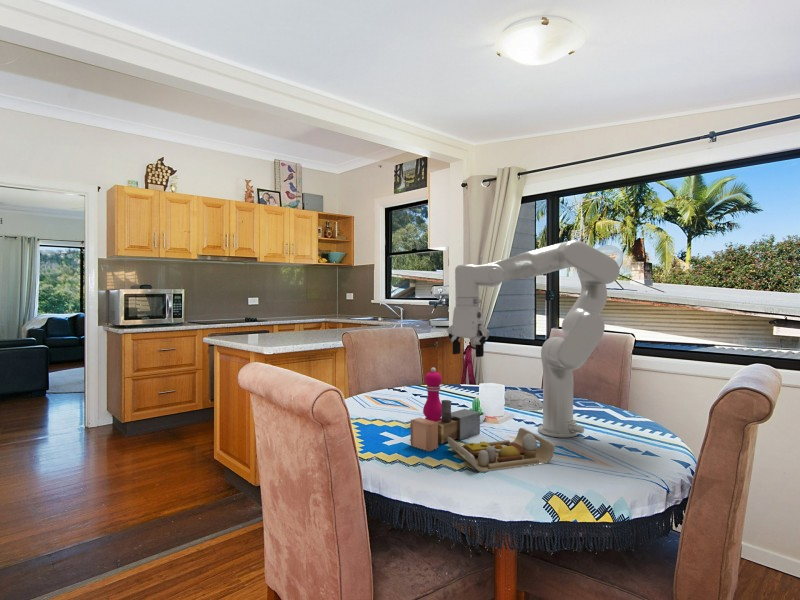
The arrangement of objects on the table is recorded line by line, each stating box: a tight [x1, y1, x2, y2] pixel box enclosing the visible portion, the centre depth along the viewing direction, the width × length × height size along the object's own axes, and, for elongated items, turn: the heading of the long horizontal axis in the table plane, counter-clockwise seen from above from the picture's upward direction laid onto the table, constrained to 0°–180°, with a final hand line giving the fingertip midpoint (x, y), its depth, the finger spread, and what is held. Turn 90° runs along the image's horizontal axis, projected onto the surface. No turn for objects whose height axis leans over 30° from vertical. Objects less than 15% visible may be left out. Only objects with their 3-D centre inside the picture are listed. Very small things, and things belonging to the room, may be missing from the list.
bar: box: [437, 399, 458, 444], centre depth 152 cm, size 4×16×12 cm, turn 133°
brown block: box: [410, 417, 439, 452], centre depth 143 cm, size 8×4×8 cm, turn 43°
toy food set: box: [447, 427, 556, 473], centre depth 135 cm, size 25×18×8 cm
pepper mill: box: [422, 367, 443, 422], centre depth 167 cm, size 7×7×20 cm
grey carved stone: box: [504, 389, 543, 412], centre depth 196 cm, size 16×25×7 cm, turn 38°
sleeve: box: [451, 408, 481, 441], centre depth 155 cm, size 6×10×7 cm, turn 133°
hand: (467, 355), depth 154 cm, fingers open, 9 cm apart
